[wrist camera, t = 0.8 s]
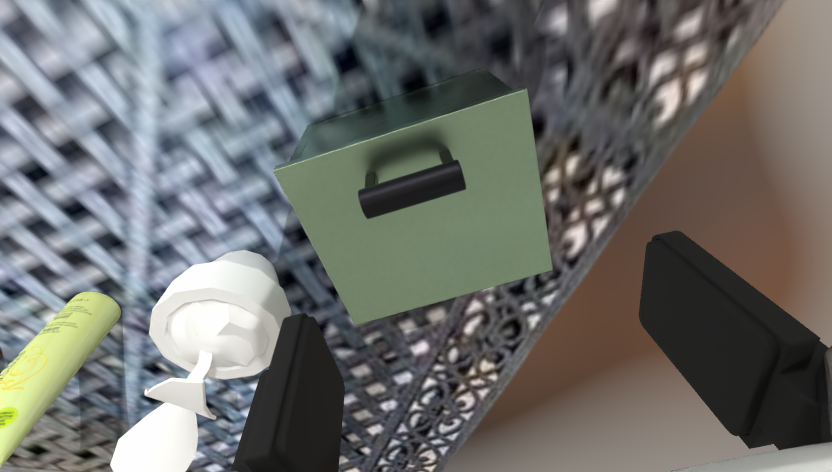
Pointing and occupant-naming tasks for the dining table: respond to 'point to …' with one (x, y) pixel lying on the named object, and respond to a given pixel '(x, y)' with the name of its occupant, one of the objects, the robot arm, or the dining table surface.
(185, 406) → the potted plant
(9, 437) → the tube
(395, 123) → the green storage bin
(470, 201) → the bin lid
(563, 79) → the dining table surface
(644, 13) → the dining table surface
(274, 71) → the dining table surface
